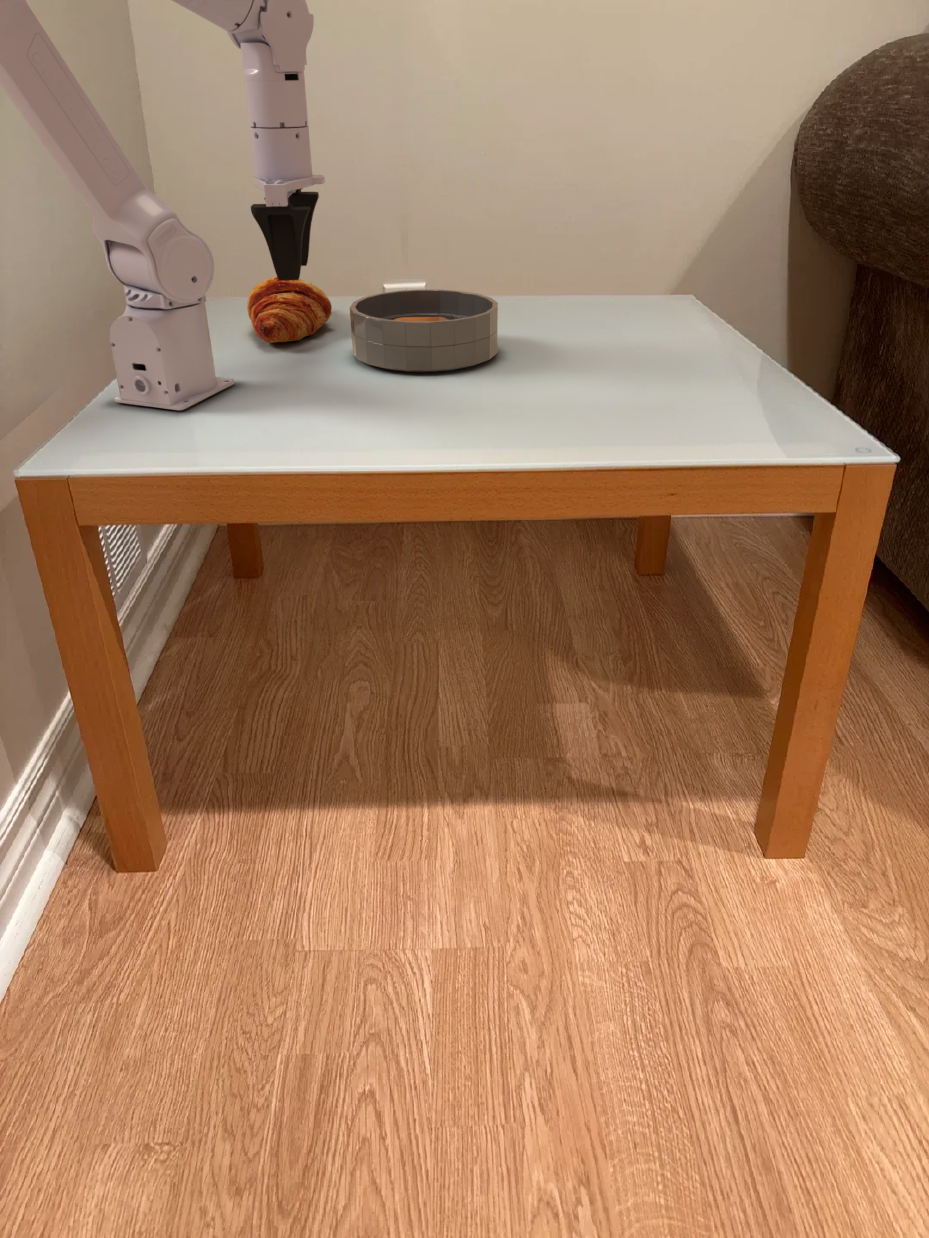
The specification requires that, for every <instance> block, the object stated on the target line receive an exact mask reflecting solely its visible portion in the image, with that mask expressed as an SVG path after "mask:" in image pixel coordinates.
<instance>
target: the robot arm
mask: <svg viewBox="0 0 929 1238" xmlns="http://www.w3.org/2000/svg"><path fill="white" fill-rule="evenodd" d="M171 1H172V2H174V3H176V4H178V5H179V6H180V7H183V8H185V9H186V10H188V11H190V12H192V13H194V14H196V15H198V16H199V17H200V18H202V19H204V20H206V21H208V22H210V23H211V24H214V25H215V26H217V27H219V28H221V29H222V30H224V31H226V33H227V35H228V37H229V39H230V40H231V42H232V43H233V45H235V47H236V48H237V49H239V50H240V52H241V53H240V55H241V62H242V63H241V64H242V71H243V79H244V80H243V81H244V88H245V98H246V106H247V107H246V108H247V116H248V125H249V133H250V134H249V135H250V143H251V152H252V160H253V170H254V176H253V178H252V179H253V186H254V187H256V188H258V189H259V190H262V191H263V192H264V197H263V198H264V201H265V203H253V204H252V205H251V206H250V212H251V216H252V217H253V219H254V220H255V221H256V223H257V225H258V227H259V229H260V231H261V233H262V235H263V237H264V239H265V242H266V245H267V248H268V251H269V252H268V253H269V255H270V258H271V262H272V266H273V269H274V272H275V276H277V277H278V279H279V280H299V278H300V277H301V269H302V267H306V266H307V265H308V262H309V254H310V243H311V241H310V239H311V228H312V223H313V217H314V213H315V210H316V206H317V203H318V201H319V198H320V195H319V194H320V193H319V192H318V191H302V190H303V189H305V188H308V187H312V186H315V185H324V184H325V182H326V180H325V177H326V176H325V174H313V165H312V164H313V163H312V153H311V151H312V150H311V140H310V128H309V117H308V116H309V114H308V106H307V105H308V104H307V102H308V101H307V91H306V90H307V89H306V81H305V80H306V79H305V78H306V77H305V67H306V66H307V65H308V63H307V62H308V61H307V47H308V44H309V42H310V40H311V38H312V35H313V30H314V20H315V19H314V18H315V17H314V14H313V13H310V11H309V6H308V3H307V1H306V0H171ZM0 86H1V87H2V89H3V90H4V92H5V93H6V95H7V96H8V97H9V99H10V100H11V101H12V103H13V104H14V106H15V107H16V109H18V111H19V113H20V114H21V115H22V117H23V119H24V120H25V121H26V122H27V124H28V125H29V127H30V128H31V130H32V131H33V132H34V134H35V135H36V136H37V138H38V139H39V141H40V142H41V143H42V145H43V146H44V148H45V149H46V151H47V152H48V153H49V155H50V156H51V158H52V159H53V160H54V162H55V163H56V164H57V166H58V167H59V169H60V170H61V172H62V173H63V174H64V176H65V177H66V179H67V180H68V182H69V184H71V186H72V187H73V188H74V190H75V191H76V193H77V194H78V196H79V197H80V198H81V200H82V202H84V204H85V205H86V206H87V208H88V209H89V211H90V212H91V214H92V215H93V219H92V227H91V231H92V233H93V235H94V236H95V237H96V239H97V240H98V242H99V243H100V245H101V248H102V251H103V253H104V259H105V263H106V266H107V269H108V271H109V273H110V275H111V276H112V277H113V278H114V279H115V281H117V282H118V283H119V284H120V285H121V286H123V292H124V296H125V297H124V298H125V302H126V307H125V309H124V312H123V314H122V315H120V316H118V317H117V318H116V319H115V320H113V322H112V324H111V326H110V329H109V334H108V335H109V337H108V340H109V346H110V352H111V357H112V361H113V365H114V367H113V368H114V371H115V377H116V381H117V386H118V391H119V394H118V395H116V396H114V397H113V401H114V402H115V403H119V404H126V405H134V406H142V407H149V408H158V409H166V410H172V411H184V410H186V409H188V408H190V407H191V406H194V405H196V404H199V403H200V402H202V401H204V400H205V399H208V398H209V397H212V396H214V395H215V394H217V393H219V392H222V391H223V390H225V389H227V388H229V387H231V386H233V385H234V384H236V382H235V378H230V377H221V376H217V375H216V369H215V367H216V366H215V362H214V355H213V348H212V341H211V340H212V339H211V334H210V327H209V321H208V314H207V307H206V302H207V296H206V293H207V292H208V290H209V289H210V287H211V285H212V283H213V280H214V275H215V261H214V256H213V253H212V251H211V249H210V247H209V245H208V244H207V242H206V240H204V239H203V238H202V237H201V236H200V235H199V234H197V233H195V232H194V231H192V230H190V229H189V228H188V227H187V226H186V225H184V223H183V222H182V220H181V218H179V216H178V214H177V213H176V211H175V210H173V208H171V207H170V206H169V205H168V204H166V203H165V202H164V200H161V199H160V198H159V197H158V196H157V195H156V194H154V193H153V192H152V191H151V190H149V188H148V187H147V186H146V185H145V183H144V181H143V179H142V177H140V175H139V174H138V172H137V170H136V169H135V167H134V166H133V164H132V163H131V161H130V160H129V158H128V157H127V155H126V153H125V152H124V151H123V149H122V147H121V146H120V144H119V143H118V141H117V139H116V138H115V137H114V135H113V134H112V132H111V131H110V129H109V128H108V126H107V124H106V123H105V121H104V120H103V118H102V116H101V115H100V114H99V112H98V111H97V109H96V107H95V106H94V104H93V103H92V102H91V100H90V98H89V97H88V94H87V93H86V92H85V90H84V89H83V87H82V86H81V84H80V83H79V81H78V80H77V78H76V77H75V75H74V74H73V72H72V70H71V69H70V67H69V66H68V64H67V63H66V61H65V60H64V58H63V56H62V55H61V53H60V52H59V50H58V49H57V47H56V46H55V44H54V43H53V41H52V39H51V38H50V36H49V35H48V33H47V31H46V30H45V29H44V27H43V26H42V24H41V22H40V21H39V19H38V18H37V16H36V15H35V13H34V11H33V10H32V9H31V7H30V6H29V3H27V0H0Z"/></svg>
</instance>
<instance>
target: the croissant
mask: <svg viewBox="0 0 929 1238" xmlns="http://www.w3.org/2000/svg"><path fill="white" fill-rule="evenodd" d="M246 307H247V308H246V309H247V314H248V318H249V320H250V323H251V325H252V329H253V330H254V332H255V334H256V335H257V337H258V338H259V339H261V340H262V341H264V342H265V343H269V344H273V343H286V342H293V341H301V340H302V339H303V338H306V337H308V336H312V335H313V334H315V333H316V332H317V331H318V330H319V329H320V328H321V327H323V326H324V323H326V322H327V321H328V320H329V319H330V317H331V316H332V307H333V306H332V303H331V300H330V298H329V297H328V296H327V295H326V293H325V292H324V291H323V290H322V289H321V288H320V287H319V286H317V285H315V284H313V283H312V282H307V281H306V280H305V279H302V278H300V277H299V280H279V279H278V277H277V275H275V276H272V277H268V278H266V279H265V280H263V281H261V282H259V283H257V284H256V285H255V286H254V287H252V290H251V291H250V294H249V296H248V299H247V306H246Z"/></svg>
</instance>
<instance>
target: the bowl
mask: <svg viewBox="0 0 929 1238" xmlns="http://www.w3.org/2000/svg"><path fill="white" fill-rule="evenodd" d="M402 317H444V318H446V319H448V320H441V321H399V320H395V319H397V318H402ZM349 318H350V319H349V320H350V330H351V331H350V332H351V334H350V335H351V348H352V354H353V356H354V357H355V358H356V359H357V360H358V361H361V362H363V363H365V364H366V365H370V366H373V367H377V368H380V369H383V370H384V369H385V370H389V371H394V372H395V371H396V372H405V373H440V372H451V371H456V370H462V369H466V368H469V367H472V366H476V365H479V364H481V363H484V362H487V361H489V360H491V359H492V358H493V357H495V356H496V355H497V354H498V334H499V333H498V326H499V325H498V324H499V322H498V321H499V302H498V301H496V300H495V299H493V297H489V296H487V295H483V294H480V293H477V292H471V291H470V292H469V291H464V290H455V289H443V288H442V289H436V288H435V289H433V288H432V289H431V288H430V289H428V288H420V289H419V288H418V289H404V290H403V289H402V290H393V291H392V290H391V291H385V292H379V293H375V294H371V295H366V296H363V297H361V298H359V299H356V300H354V301H353V302H352V303H351V304H350V306H349Z"/></svg>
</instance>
